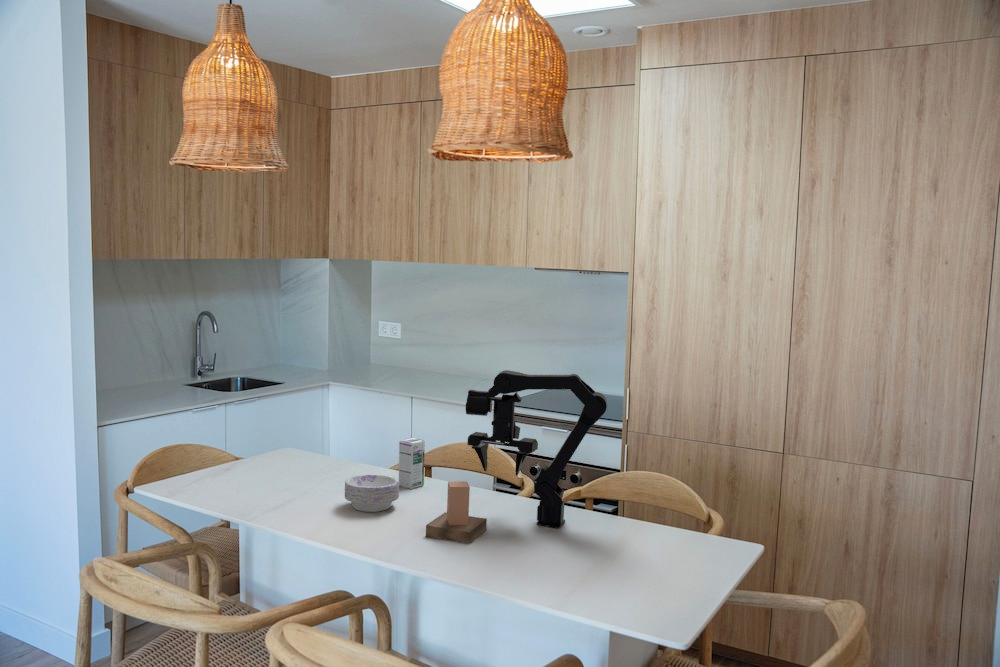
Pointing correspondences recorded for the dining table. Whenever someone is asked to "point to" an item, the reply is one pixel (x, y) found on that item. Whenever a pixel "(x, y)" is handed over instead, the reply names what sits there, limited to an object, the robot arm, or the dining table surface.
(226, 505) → the dining table surface
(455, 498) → the terracotta block
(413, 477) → the syrup box
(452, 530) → the walnut plinth
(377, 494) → the paper bowls
